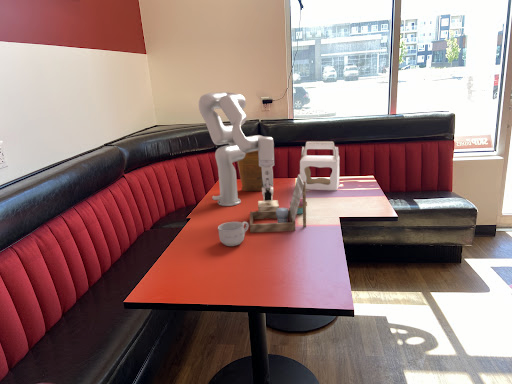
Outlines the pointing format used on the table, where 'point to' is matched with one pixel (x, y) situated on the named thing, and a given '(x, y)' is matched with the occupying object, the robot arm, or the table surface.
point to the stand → (268, 205)
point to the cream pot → (264, 194)
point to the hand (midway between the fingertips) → (267, 197)
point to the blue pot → (282, 215)
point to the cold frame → (292, 213)
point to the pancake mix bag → (250, 172)
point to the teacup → (232, 233)
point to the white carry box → (320, 166)
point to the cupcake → (300, 207)
